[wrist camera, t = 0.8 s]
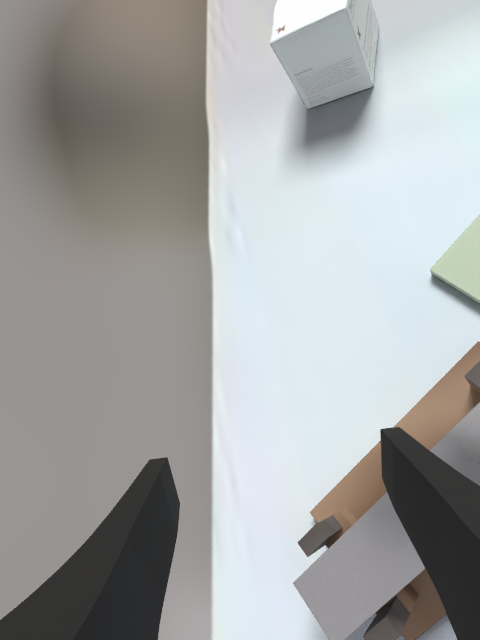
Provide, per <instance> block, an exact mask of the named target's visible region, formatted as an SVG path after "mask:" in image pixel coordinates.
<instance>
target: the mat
mask: <svg viewBox="0 0 480 640" xmlns="http://www.w3.org/2000/svg"><path fill="white" fill-rule="evenodd" d="M430 271H431V273H432V274H433V275H435V276H436V277H438V278H439V279H441V280H443V281H444V282H446V283H447V284H449V285H451V286H452V287H454V288H455V289H457V290H459V291H460V292H462V293H463V294H465V295H467V296H468V297H470V298H471V299H473V300H475V301H476V302H478V303H479V304H480V215H479V216H478V217H477V218H476V219H475V220H474V221H473V222H472V224H471V225H470V226H469V227H468V228H467V229H466V230H465V231H464V232H463V234H462V235H461V236H460V237H459V238H458V239H457V240H456V241H455V242H454V244H453V245H452V246H451V247H450V248H449V249H448V250H447V251H446V252H445V253H444V255H443V256H442V257H441V258H440V259H439V260H438V261H437V262H436V263H435V265H434V266H433V267H432V268H431V269H430Z"/></svg>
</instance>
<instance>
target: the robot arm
mask: <svg viewBox="0 0 480 640" xmlns="http://www.w3.org/2000/svg"><path fill="white" fill-rule="evenodd" d="M381 464H382V480H383V482H384V485H385V487H386V490H387V493H388V495H389V498H390V500H391V503H392V505H393V508H394V510H395V512H396V514H397V516H398V518H399V519H400V521H401V523H402V525H403V527H404V529H405V531H406V533H407V535H408V537H409V538H410V540H411V542H412V544H413V546H414V548H415V550H416V552H417V553H418V555H419V557H420V559H421V561H422V563H423V565H424V567H425V569H426V570H427V572H428V574H429V576H430V578H431V580H432V582H433V584H434V586H435V588H436V590H437V592H438V594H439V597H440V599H441V601H442V604H443V606H444V608H445V611H446V613H447V616H448V618H449V620H450V623H451V625H452V627H453V630H454V632H455V634H456V637H457V639H458V640H480V486H479V485H478V484H476V483H475V482H473V481H472V480H470V479H469V478H467V477H465V476H464V475H463V474H461V473H460V472H458V471H457V470H455V469H454V468H453V467H451V466H450V465H448V464H447V463H446V462H444V461H443V460H442V459H440V458H439V457H438V456H436V455H435V454H434V453H432V452H431V451H430V450H428V449H427V448H426V447H424V446H423V445H422V444H421V443H419V442H418V441H417V440H416V439H414V438H413V437H412V436H410V435H409V434H408V433H407V432H405V431H404V430H403V429H401V428H400V427H394V428H386V429H381ZM179 508H180V502H179V498H178V495H177V491H176V487H175V484H174V480H173V477H172V473H171V469H170V465H169V462H168V458H160V459H151V460H149V461H148V463H147V464H146V465H145V467H144V468H143V469H142V471H141V472H140V473H139V475H138V476H137V478H136V479H135V480H134V482H133V483H132V485H131V486H130V487H129V489H128V490H127V491H126V493H125V494H124V495H123V497H122V498H121V499H120V500H119V502H118V503H117V504H116V506H115V507H114V508H113V510H112V511H111V512H110V513H109V515H108V516H107V517H106V518H105V519H104V521H103V522H102V523H101V524H100V526H99V527H98V528H97V529H96V530H95V532H94V533H93V534H92V535H91V536H90V537H89V539H88V540H87V541H86V542H85V543H84V544H83V545H82V546H81V547H80V548H79V549H78V550H77V552H75V553H74V555H72V557H71V558H70V559H69V560H68V561H67V562H66V563H65V564H64V565H63V566H62V567H61V568H60V569H59V570H57V571H56V572H55V573H54V574H53V575H52V576H51V577H50V578H49V579H48V580H47V581H45V582H44V583H43V584H42V585H41V586H40V587H39V588H38V589H37V590H36V591H35V592H33V593H32V594H31V595H30V596H29V597H28V598H27V599H25V600H24V601H23V602H22V603H21V604H19V605H18V606H17V607H16V608H15V609H14V610H13V611H11V612H10V613H9V614H7V615H6V616H5V617H4V618H2V619H1V620H0V640H158V632H159V624H160V618H161V613H162V607H163V602H164V597H165V592H166V588H167V583H168V578H169V573H170V568H171V563H172V558H173V553H174V548H175V543H176V538H177V531H178V520H179Z"/></svg>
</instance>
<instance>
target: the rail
mask: <svg viewBox="0 0 480 640" xmlns="http://www.w3.org/2000/svg"><path fill="white" fill-rule="evenodd" d="M430 451H431V452H432V453H434V454H435V455H436V456H438V457H439V458H440V459H442V460H443V461H444V462H446V463H447V464H448V465H450V466H451V467H453V468H454V469H455V470H457V471H458V472H460V473H461V474H463V475H464V476H465V477H467V478H469V479H470V480H472V481H473V482H475V483H476V484H478V485H479V486H480V402H479V403H478V404H477V405H476V406H475V407H474V408H473V409H472V410H471V411H470V412H469V413H468V414H467V415H466V416H465V417H464V418H463V419H462V420H461V421H460V422H459V423H458V424H457V425H456V426H455V427H454V428H453V429H452V430H451V431H449V432H448V433H447V434H446V435H445V436H444V437H443V438H442V439H441V440H440V441H439V442H438V443H437V444H436V445H435V446H434V447H433V448H432V449H431V450H430ZM424 569H425V567H424V565H423V563H422V561H421V559H420V557H419V555H418V553H417V552H416V550H415V548H414V546H413V544H412V542H411V540H410V538H409V537H408V535H407V533H406V531H405V529H404V527H403V525H402V523H401V521H400V519H399V518H398V516H397V514H396V512H395V510H394V508H393V505H392V503H391V500H390V498H389V495H388V493H387V492H386V493H385V494H384V495H383V496H382V497H381V498H380V499H379V500H378V501H377V502H376V503H375V504H374V505H373V506H372V507H371V508H370V509H369V510H368V511H367V512H366V513H365V514H364V515H363V516H362V517H361V518H360V519H359V520H358V521H357V522H356V523H354V524H353V525H352V526H351V527H350V528H349V529H348V530H347V531H346V532H345V533H344V534H343V535H342V536H341V537H340V538H339V539H338V540H337V541H336V542H335V543H334V544H333V545H332V546H331V547H330V548H329V549H328V550H327V551H326V552H325V553H323V554H322V555H321V556H320V557H319V558H318V559H317V560H316V561H315V562H314V563H313V564H312V565H311V566H310V567H309V568H308V569H307V570H306V571H305V572H304V573H303V574H302V575H301V576H300V577H299V578H298V579H297V580H296V581H295V582H294V583H293V584H294V586H295V587H296V589H297V590H298V592H299V593H300V595H301V597H302V598H303V600H304V601H305V603H306V604H307V606H308V607H309V609H310V610H311V612H312V614H313V615H314V617H315V618H316V620H317V621H318V623H319V624H320V626H321V627H322V629H323V631H324V632H325V634H326V635H327V637H328V638H329V640H345V639H346V638H347V637H348V636H349V635H350V634H352V633H353V632H354V631H355V630H356V629H357V628H358V627H360V626H361V625H362V624H363V623H364V622H365V621H366V620H367V619H369V618H370V617H371V616H372V615H373V614H374V613H375V612H377V611H378V610H379V609H380V608H381V607H382V606H383V605H384V604H386V603H387V602H388V601H389V600H390V599H391V598H392V597H394V596H395V595H396V594H397V593H398V592H399V591H400V590H401V589H403V588H404V587H405V586H406V585H407V584H408V583H409V582H411V581H412V580H413V579H414V578H415V577H416V576H417V575H419V574H420V573H421V572H422V571H423V570H424Z"/></svg>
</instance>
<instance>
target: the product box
mask: <svg viewBox="0 0 480 640" xmlns="http://www.w3.org/2000/svg"><path fill="white" fill-rule="evenodd" d="M378 35H379V25H378V22H377V19H376V15H375V12H374V9H373V5H372V2H371V0H277V2H276V6H275V9H274V21H273V27H272V33H271V39H270V45H271V47H272V49H273V50H274V52H275V54H276V56H277V57H278V59H279V61H280V63H281V64H282V66H283V68H284V69H285V71H286V73H287V75H288V76H289V78H290V80H291V82H292V83H293V85H294V87H295V88H296V90H297V92H298V94H299V95H300V97H301V99H302V100H303V102H304V104H305V106H306V107H307V108H308V109H309V108H312V107H315V106H319V105H322V104H324V103H327V102H330V101H333V100H336V99H339V98H341V97H344V96H347V95H350V94H353V93H356V92H359V91H362V90H365V89H368V88H371V87H373V85H374V69H375V58H376V49H377V41H378Z"/></svg>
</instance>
